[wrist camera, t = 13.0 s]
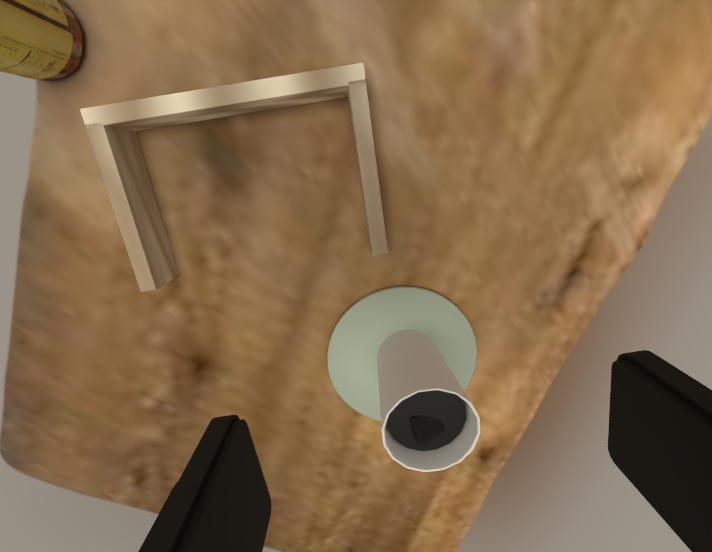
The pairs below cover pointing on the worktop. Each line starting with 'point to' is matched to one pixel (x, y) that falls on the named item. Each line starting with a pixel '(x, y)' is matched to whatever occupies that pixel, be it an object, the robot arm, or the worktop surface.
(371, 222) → the frame
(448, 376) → the white coffee cup
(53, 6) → the sauce bottle
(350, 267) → the worktop surface
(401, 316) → the disc
